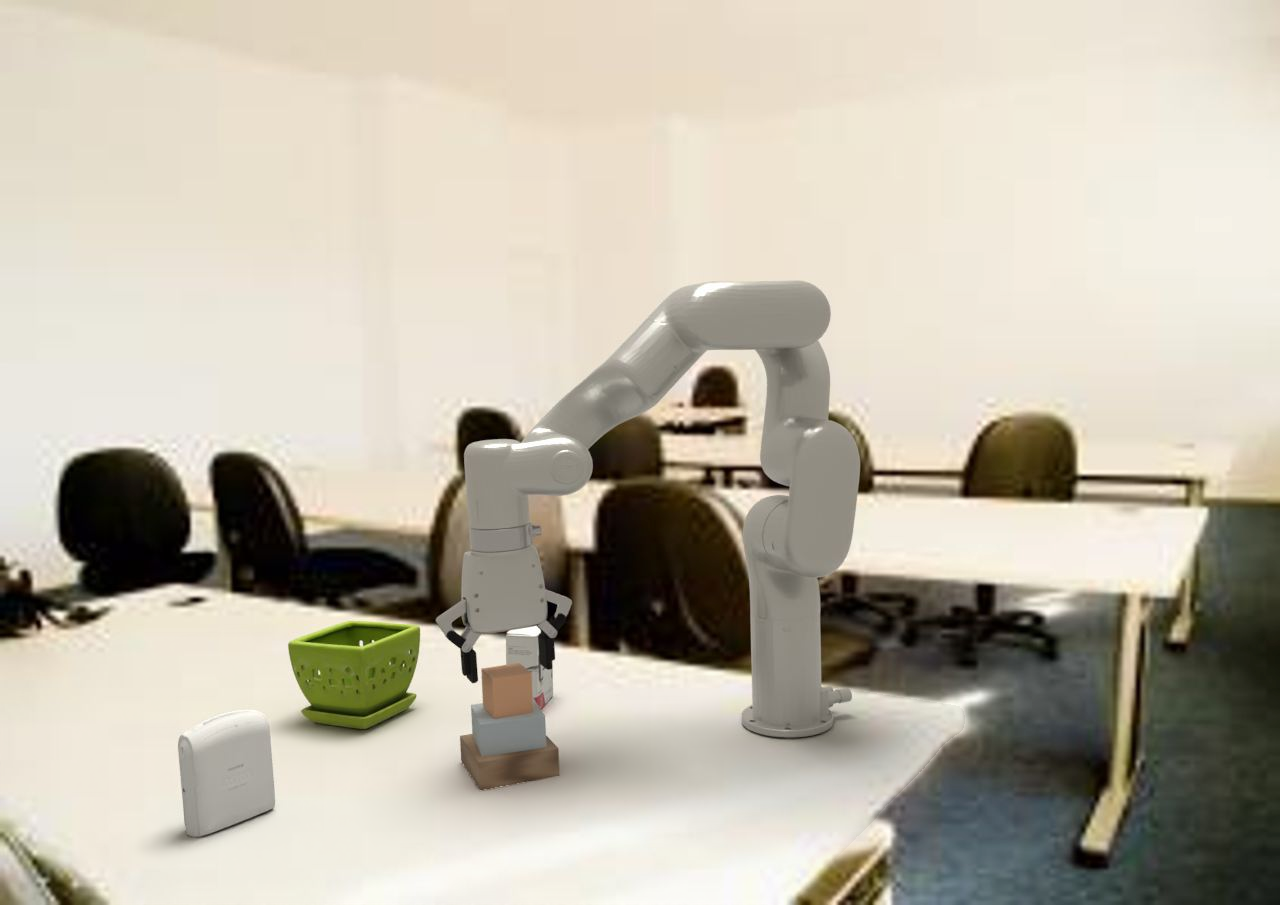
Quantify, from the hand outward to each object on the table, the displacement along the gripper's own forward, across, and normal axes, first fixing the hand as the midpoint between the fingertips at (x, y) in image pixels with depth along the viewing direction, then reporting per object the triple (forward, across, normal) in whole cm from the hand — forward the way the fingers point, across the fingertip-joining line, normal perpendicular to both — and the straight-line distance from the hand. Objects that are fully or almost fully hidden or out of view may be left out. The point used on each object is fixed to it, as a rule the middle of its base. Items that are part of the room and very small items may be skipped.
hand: (509, 673), depth 134 cm
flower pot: (+12, +15, -29) cm, 35 cm away
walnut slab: (+13, +1, 0) cm, 13 cm away
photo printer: (+12, +34, 0) cm, 36 cm away
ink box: (+12, -9, -22) cm, 27 cm away
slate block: (+9, +1, 0) cm, 9 cm away
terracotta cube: (+4, +1, 0) cm, 5 cm away
